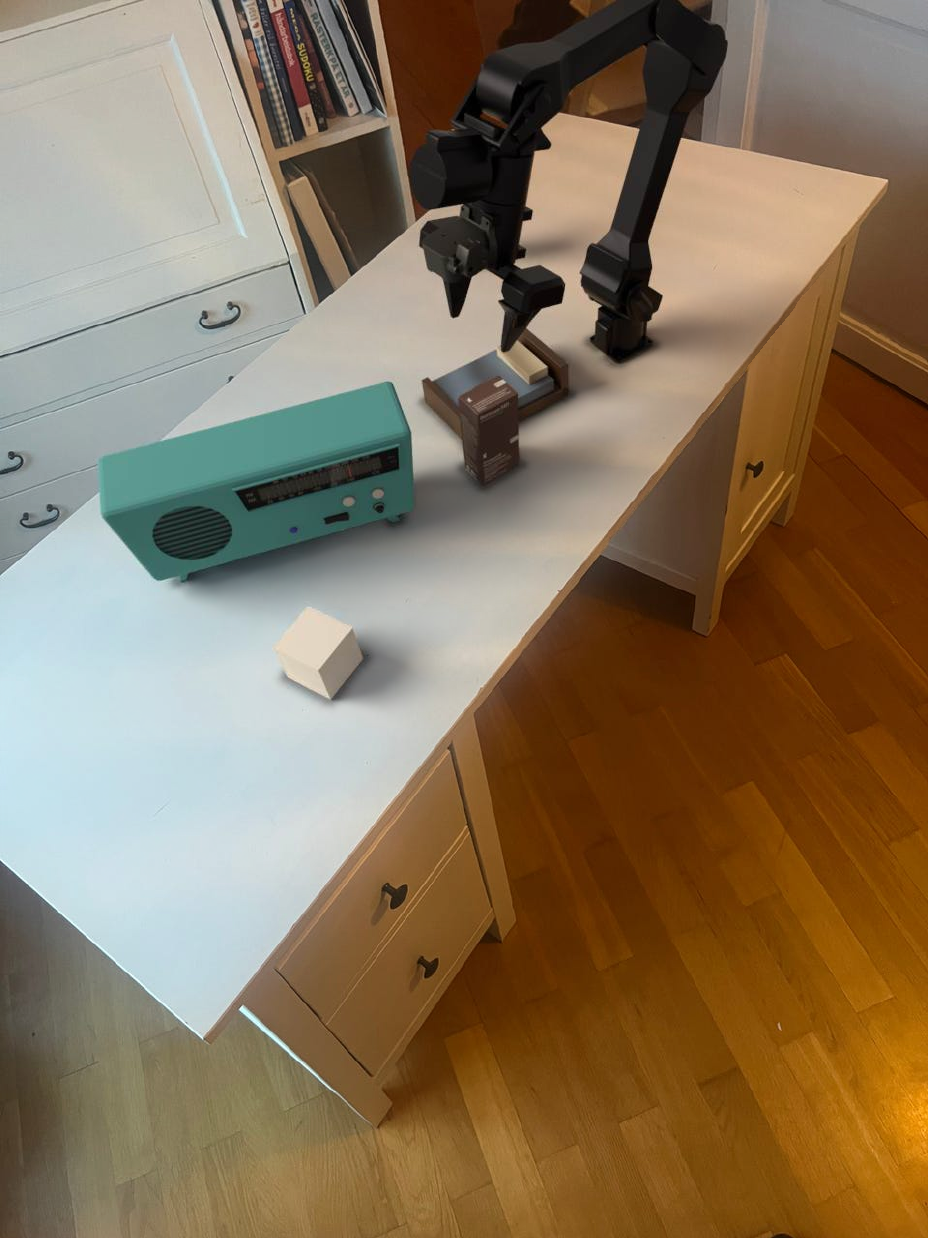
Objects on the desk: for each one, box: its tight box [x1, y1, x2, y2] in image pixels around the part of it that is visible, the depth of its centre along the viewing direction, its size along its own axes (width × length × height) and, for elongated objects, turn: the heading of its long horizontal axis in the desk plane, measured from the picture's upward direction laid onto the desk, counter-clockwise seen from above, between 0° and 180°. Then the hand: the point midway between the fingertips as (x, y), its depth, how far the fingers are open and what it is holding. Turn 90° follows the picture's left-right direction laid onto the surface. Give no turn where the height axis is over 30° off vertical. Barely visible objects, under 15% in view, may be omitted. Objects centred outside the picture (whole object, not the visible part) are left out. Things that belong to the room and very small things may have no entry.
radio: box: [97, 381, 415, 582], centre depth 103 cm, size 34×10×15 cm, turn 105°
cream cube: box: [272, 605, 364, 701], centre depth 94 cm, size 6×6×6 cm
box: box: [458, 376, 520, 486], centre depth 107 cm, size 6×4×12 cm
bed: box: [421, 327, 570, 441], centre depth 117 cm, size 16×11×5 cm
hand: (479, 333), depth 104 cm, fingers open, 9 cm apart
